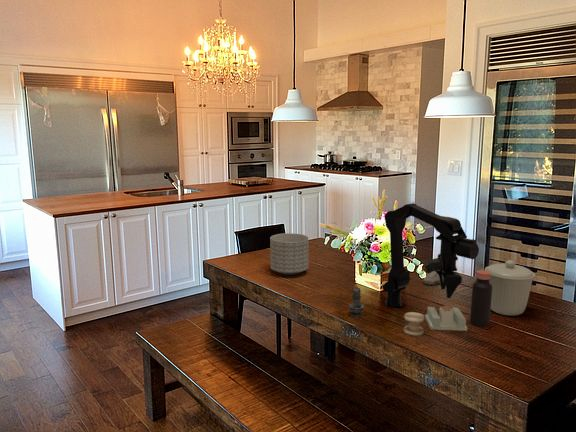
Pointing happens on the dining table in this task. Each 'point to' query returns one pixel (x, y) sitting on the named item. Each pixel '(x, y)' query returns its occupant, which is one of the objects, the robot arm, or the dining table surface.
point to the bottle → (481, 299)
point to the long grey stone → (432, 278)
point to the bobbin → (414, 323)
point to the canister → (509, 287)
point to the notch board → (436, 324)
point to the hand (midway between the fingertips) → (445, 293)
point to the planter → (289, 253)
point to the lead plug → (446, 314)
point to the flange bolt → (356, 303)
